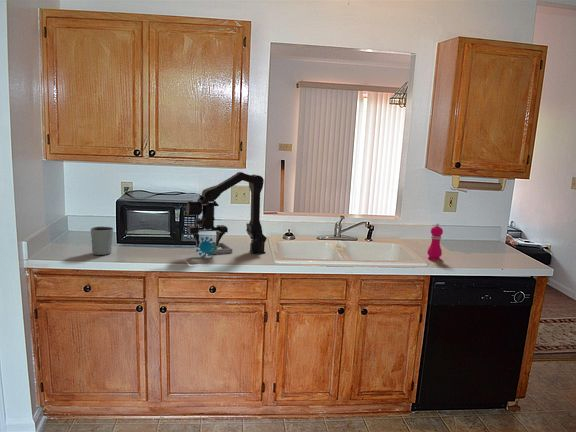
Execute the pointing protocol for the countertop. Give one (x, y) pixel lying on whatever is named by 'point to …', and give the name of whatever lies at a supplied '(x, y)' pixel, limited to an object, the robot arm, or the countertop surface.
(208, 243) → the gear
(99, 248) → the grey cup
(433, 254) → the pepper mill
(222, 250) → the tray
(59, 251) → the countertop surface
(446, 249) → the countertop surface
